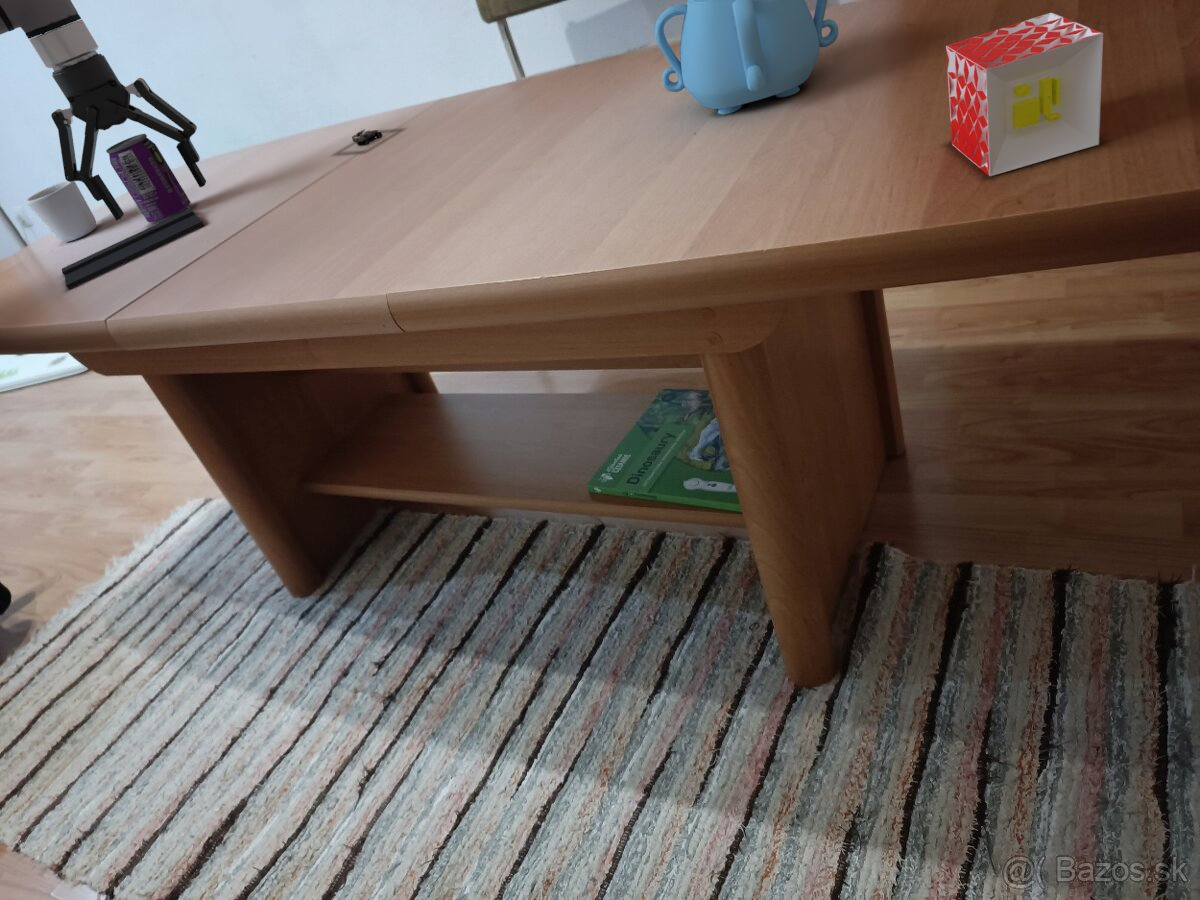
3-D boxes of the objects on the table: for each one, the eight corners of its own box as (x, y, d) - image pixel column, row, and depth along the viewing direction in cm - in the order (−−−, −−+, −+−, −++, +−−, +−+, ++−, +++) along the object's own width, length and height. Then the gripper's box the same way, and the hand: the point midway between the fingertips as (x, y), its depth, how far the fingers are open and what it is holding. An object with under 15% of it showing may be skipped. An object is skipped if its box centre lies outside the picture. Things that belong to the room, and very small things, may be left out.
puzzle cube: (989, 176, 65) (985, 69, 61) (951, 145, 72) (945, 45, 67) (1100, 144, 64) (1104, 32, 60) (1051, 114, 70) (1052, 11, 66)
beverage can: (201, 204, 137) (157, 130, 130) (166, 225, 133) (118, 150, 126) (177, 206, 141) (132, 134, 134) (141, 227, 136) (94, 154, 130)
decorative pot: (657, 118, 101) (624, -6, 94) (755, 63, 107) (732, -58, 99) (753, 128, 89) (725, -14, 81) (859, 65, 94) (842, -74, 86)
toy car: (383, 136, 136) (377, 123, 135) (364, 147, 134) (358, 134, 133) (373, 136, 138) (367, 124, 137) (354, 147, 136) (348, 135, 135)
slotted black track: (69, 290, 120) (63, 282, 119) (66, 273, 128) (61, 266, 127) (204, 225, 126) (199, 218, 125) (194, 214, 133) (189, 206, 133)
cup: (66, 232, 151) (36, 189, 147) (110, 214, 152) (81, 171, 147) (52, 251, 142) (19, 206, 138) (98, 232, 143) (67, 187, 138)
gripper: (162, 26, 127) (239, 165, 139) (-2, 89, 125) (90, 223, 137) (154, 32, 121) (235, 176, 133) (-18, 98, 119) (80, 238, 131)
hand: (162, 201), depth 135 cm, fingers open, 13 cm apart
